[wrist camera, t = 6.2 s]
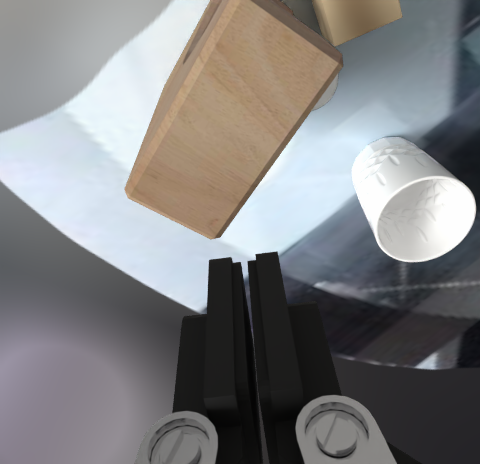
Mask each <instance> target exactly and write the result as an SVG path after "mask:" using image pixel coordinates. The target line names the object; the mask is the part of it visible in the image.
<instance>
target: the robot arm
mask: <svg viewBox="0 0 480 464" xmlns="http://www.w3.org/2000/svg"><path fill="white" fill-rule="evenodd" d="M248 273H249V286H250V298H251V310H252V322H253V335H254V347H255V356H254V347H253V338H252V332H251V325H250V319H249V312H248V305H247V299H246V292H245V286H244V279H243V273H242V266H241V262H236V263H233V262H232V258H231V257H229V258H221V259H212V260H209V275H208V299H207V314H202V315H193V316H185V317H184V318H183V320H182V328H181V337H180V347H179V356H178V365H177V374H176V384H175V394H174V403H173V412H172V414H170V415H167V416H165V417H163V418H162V419H160V420H159V421H157V422H156V423H155V424H153V426H152V427H151V428H150V429H149V430H148V432H147V433H146V434H145V436H144V438H143V441H142V443H141V445H140V448H139V451H138V454H137V457H136V460H135V464H263V456H262V444H261V431H260V418H259V406H258V393H257V383H258V392H259V399H260V406H261V412H262V419H263V425H264V431H265V438H266V444H267V450H268V456H269V463H270V464H421V463H420V462H418V461H416V460H415V459H413V458H411V457H410V456H409V455H407V454H405V453H404V452H402V451H401V450H399V449H397V448H396V447H394V446H393V445H391V444H389V443H388V442H386V441H385V439H384V437H383V435H382V433H381V431H380V429H379V428H378V425H377V423H376V422H375V419H374V418H373V417H372V415H371V414H370V412H369V411H368V410H367V409H366V408H365V407H363V406H362V405H361V404H360V403H358V402H357V401H355V400H352V399H350V398H348V397H344V396H342V395H341V391H340V387H339V383H338V380H337V376H336V373H335V368H334V365H333V361H332V357H331V353H330V350H329V346H328V342H327V338H326V335H325V331H324V327H323V323H322V320H321V316H320V312H319V309H318V305H317V303H316V301H313V302H304V303H296V304H287V301H286V296H285V290H284V285H283V279H282V274H281V268H280V263H279V258H278V252H270V253H262V254H256V260H253V261H248ZM255 359H256V369H255ZM256 371H257V382H256Z"/></svg>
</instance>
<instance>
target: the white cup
mask: <svg viewBox="0 0 480 464" xmlns="http://www.w3.org/2000/svg"><path fill="white" fill-rule="evenodd" d="M352 180H353V186H354V188H355V190H356V192H357V195H358V198H359V201H360V204H361V206H362V209H363V211H364V214H365V216H366V218H367V220H368V222H369V225H370V227H371V229H372V231H373V234H374V236H375V238H376V240H377V243H378V245H379V246H380V248H381V249H382V250H383V251H384V252H385V253H386V254H388V255H389V256H391V257H392V258H395V259H397V260H400V261H405V262H421V261H427V260H431V259H434V258H437V257H439V256H441V255H443V254H445V253H447V252H449V251H450V250H452V249H453V248H454V247H455V246H457V245H458V244H459V243H460V242H461V241H462V240H463V239H464V238H465V236H466V235H467V234H468V232H469V230H470V229H471V227H472V225H473V222H474V219H475V215H476V203H475V199H474V196H473V194H472V192H471V191H470V189H469V188H468V187H467V186H466V185H465V184H464V183H462V182H461V181H460V180H459V179H457V178H456V177H455V176H454V175H453V174H451V173H450V172H449V171H448V170H447V169H446V168H444V167H443V166H442V165H441V164H440V163H438V162H437V161H436V160H435V159H433V158H432V157H430V156H429V155H428V154H427V153H425V152H424V151H423V150H421V149H419V148H418V147H417V146H416V145H415V144H413V143H411V142H409V141H407V140H405V139H403V138H401V137H383V138H381V139H379V140H377V141H375V142H372V143H370V144H368V145H367V146H366V147H365V148H364V149H363V150H362V151H361V152H360V153H359V155H358V156H357V157H356V160H355V162H354V165H353V168H352Z"/></svg>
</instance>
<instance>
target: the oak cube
mask: <svg viewBox="0 0 480 464" xmlns="http://www.w3.org/2000/svg"><path fill="white" fill-rule="evenodd" d="M312 3H313V7H314V10H315V13H316V17H317V20H318V24H319V27H320V30H321V34H322V36H323V37H324V38H325V39H327V40H328V41H329V42H330V43H331V44H332V45H334V46H335V47H336V46H338V45H340V44H343V43H345V42H347V41H349V40H352V39H354V38H356V37H359V36H361V35H363V34H365V33H368V32H370V31H372V30H375V29H377V28H379V27H382V26H384V25H386V24H388V23H391V22H393V21H395V20H398V19H400V18H402V13H401V8H400V3H399V0H312Z"/></svg>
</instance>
